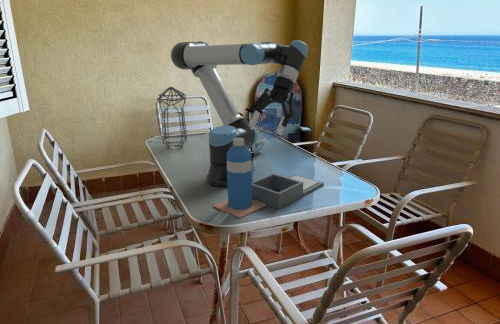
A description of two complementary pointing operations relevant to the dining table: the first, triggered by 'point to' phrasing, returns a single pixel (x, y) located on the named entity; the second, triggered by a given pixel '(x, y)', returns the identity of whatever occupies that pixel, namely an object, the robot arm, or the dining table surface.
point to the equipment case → (282, 189)
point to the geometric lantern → (177, 112)
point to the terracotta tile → (240, 213)
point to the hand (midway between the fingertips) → (264, 130)
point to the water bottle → (239, 176)
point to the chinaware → (258, 144)
